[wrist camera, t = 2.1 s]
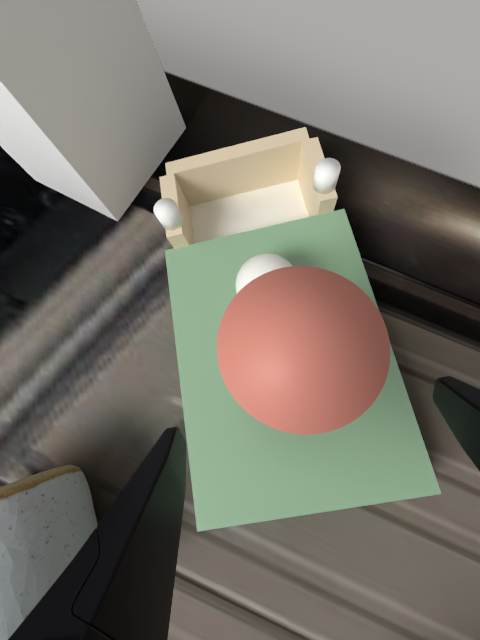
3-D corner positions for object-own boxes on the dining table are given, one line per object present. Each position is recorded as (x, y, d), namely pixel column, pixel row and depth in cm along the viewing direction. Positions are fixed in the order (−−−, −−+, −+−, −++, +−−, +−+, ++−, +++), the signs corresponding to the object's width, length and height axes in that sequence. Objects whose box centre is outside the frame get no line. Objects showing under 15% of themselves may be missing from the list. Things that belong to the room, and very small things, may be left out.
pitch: (420, 481, 18) (441, 493, 15) (206, 514, 19) (197, 531, 16) (337, 227, 23) (344, 208, 21) (175, 264, 24) (164, 250, 22)
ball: (308, 299, 19) (316, 274, 15) (263, 335, 19) (260, 319, 15) (271, 260, 20) (270, 228, 16) (228, 293, 20) (217, 269, 16)
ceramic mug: (103, 448, 21) (5, 478, 13) (137, 571, 18) (40, 691, 11) (-22, 509, 21) (-187, 572, 13) (-4, 639, 18) (-193, 801, 11)
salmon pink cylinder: (329, 381, 18) (430, 355, 6) (281, 422, 17) (291, 475, 6) (288, 334, 19) (306, 236, 7) (242, 372, 18) (185, 333, 7)
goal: (330, 229, 23) (345, 180, 18) (181, 263, 24) (155, 225, 19) (309, 166, 25) (319, 104, 20) (173, 199, 26) (147, 149, 21)
